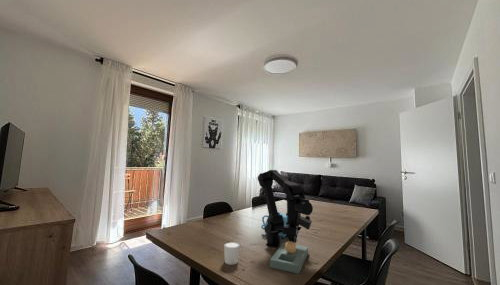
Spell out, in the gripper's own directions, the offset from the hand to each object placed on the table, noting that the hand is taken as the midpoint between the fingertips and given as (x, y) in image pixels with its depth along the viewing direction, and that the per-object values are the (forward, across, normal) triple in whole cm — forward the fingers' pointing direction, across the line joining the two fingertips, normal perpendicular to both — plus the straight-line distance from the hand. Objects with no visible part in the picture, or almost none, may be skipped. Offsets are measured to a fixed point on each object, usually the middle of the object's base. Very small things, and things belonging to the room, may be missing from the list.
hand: (293, 244), depth 100 cm
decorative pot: (+5, +26, +16) cm, 31 cm away
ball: (-1, -5, 0) cm, 5 cm away
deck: (+5, -5, +1) cm, 7 cm away
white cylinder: (+4, -19, +23) cm, 30 cm away
